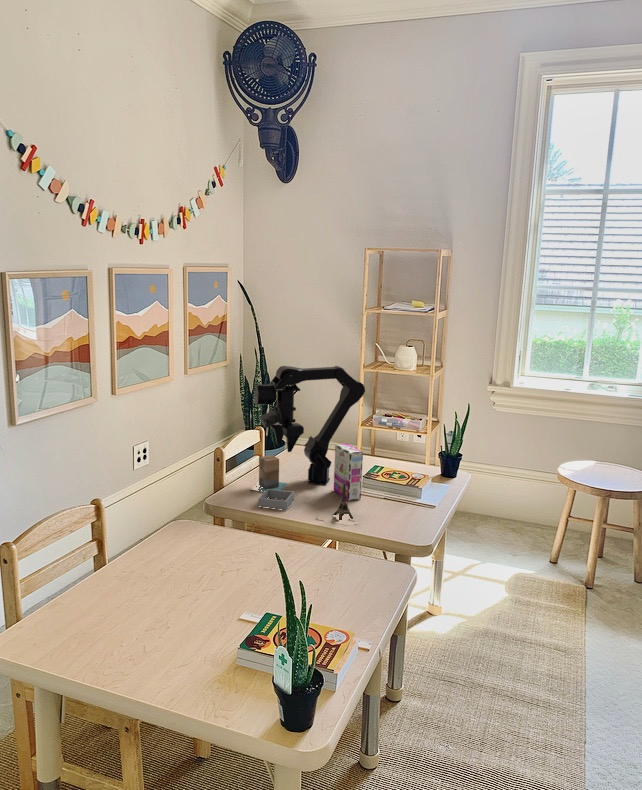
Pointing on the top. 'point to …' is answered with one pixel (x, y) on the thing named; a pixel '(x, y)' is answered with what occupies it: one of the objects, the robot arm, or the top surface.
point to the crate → (276, 503)
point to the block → (269, 472)
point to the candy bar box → (348, 471)
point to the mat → (281, 486)
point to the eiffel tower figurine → (343, 505)
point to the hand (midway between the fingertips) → (284, 448)
